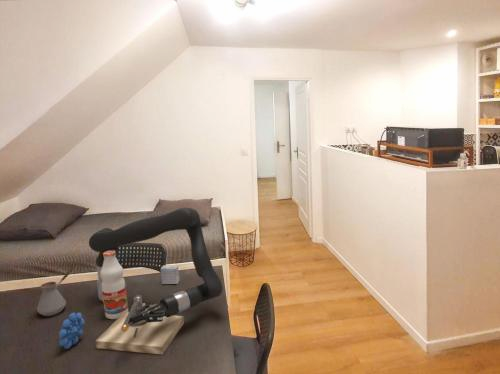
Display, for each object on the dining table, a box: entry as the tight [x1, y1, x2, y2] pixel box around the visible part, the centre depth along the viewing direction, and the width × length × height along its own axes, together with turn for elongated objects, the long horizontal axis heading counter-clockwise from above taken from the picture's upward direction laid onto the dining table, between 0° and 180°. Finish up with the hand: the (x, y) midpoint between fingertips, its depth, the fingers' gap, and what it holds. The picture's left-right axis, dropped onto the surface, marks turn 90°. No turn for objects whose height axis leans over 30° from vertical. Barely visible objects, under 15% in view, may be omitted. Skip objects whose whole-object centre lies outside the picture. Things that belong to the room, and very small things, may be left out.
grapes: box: [58, 312, 85, 350], centre depth 134 cm, size 12×7×12 cm, turn 161°
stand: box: [95, 311, 185, 355], centre depth 138 cm, size 26×20×3 cm
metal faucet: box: [121, 294, 146, 332], centre depth 134 cm, size 23×8×9 cm, turn 4°
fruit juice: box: [100, 250, 129, 320], centre depth 152 cm, size 9×9×28 cm
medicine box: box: [160, 264, 180, 285], centre depth 181 cm, size 8×4×9 cm, turn 84°
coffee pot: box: [36, 266, 76, 317], centre depth 163 cm, size 21×12×15 cm, turn 162°
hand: (131, 320), depth 128 cm, fingers closed
